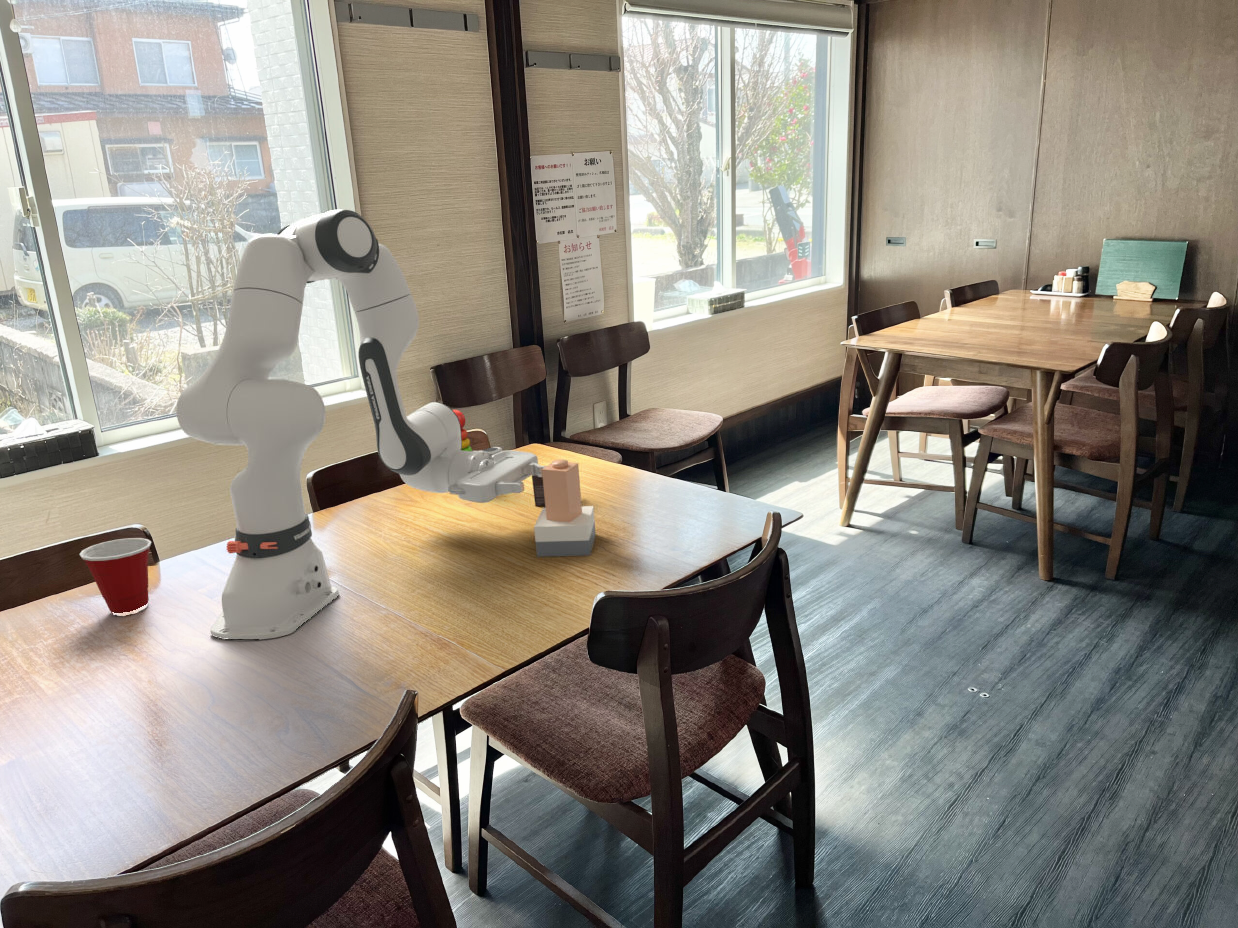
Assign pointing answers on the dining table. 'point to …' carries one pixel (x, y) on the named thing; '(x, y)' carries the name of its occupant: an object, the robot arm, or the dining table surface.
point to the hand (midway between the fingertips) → (535, 479)
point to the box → (538, 490)
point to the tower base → (566, 547)
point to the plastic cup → (120, 572)
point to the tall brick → (562, 491)
